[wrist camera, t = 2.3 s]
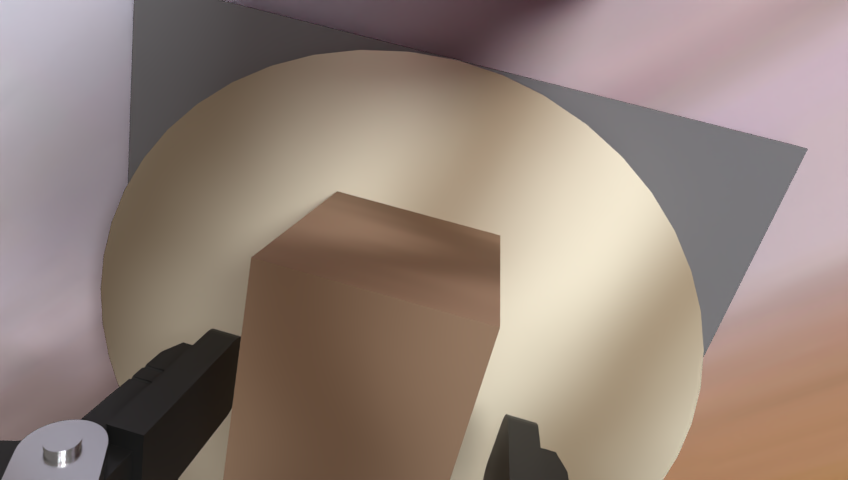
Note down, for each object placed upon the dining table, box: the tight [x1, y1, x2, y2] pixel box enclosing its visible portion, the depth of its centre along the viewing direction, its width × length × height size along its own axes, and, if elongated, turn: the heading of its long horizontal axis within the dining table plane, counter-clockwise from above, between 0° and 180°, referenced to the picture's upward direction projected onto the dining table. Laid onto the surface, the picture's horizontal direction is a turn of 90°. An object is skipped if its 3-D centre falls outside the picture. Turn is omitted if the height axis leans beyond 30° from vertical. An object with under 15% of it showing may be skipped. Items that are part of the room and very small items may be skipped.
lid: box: [101, 50, 704, 480], centre depth 12 cm, size 16×16×6 cm
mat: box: [128, 0, 807, 357], centre depth 15 cm, size 16×16×1 cm
